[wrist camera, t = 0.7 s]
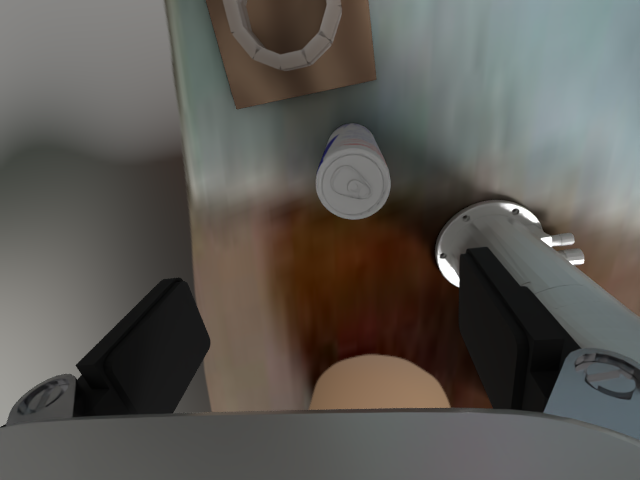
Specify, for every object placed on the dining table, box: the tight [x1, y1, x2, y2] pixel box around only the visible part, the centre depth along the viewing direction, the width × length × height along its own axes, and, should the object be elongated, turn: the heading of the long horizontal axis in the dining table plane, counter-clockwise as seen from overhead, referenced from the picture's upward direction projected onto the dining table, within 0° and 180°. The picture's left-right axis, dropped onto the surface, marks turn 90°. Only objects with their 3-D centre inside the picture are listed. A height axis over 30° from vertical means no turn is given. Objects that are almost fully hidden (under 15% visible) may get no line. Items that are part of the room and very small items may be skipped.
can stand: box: [206, 0, 376, 109], centre depth 29 cm, size 15×15×4 cm
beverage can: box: [316, 123, 391, 219], centre depth 30 cm, size 6×6×15 cm
